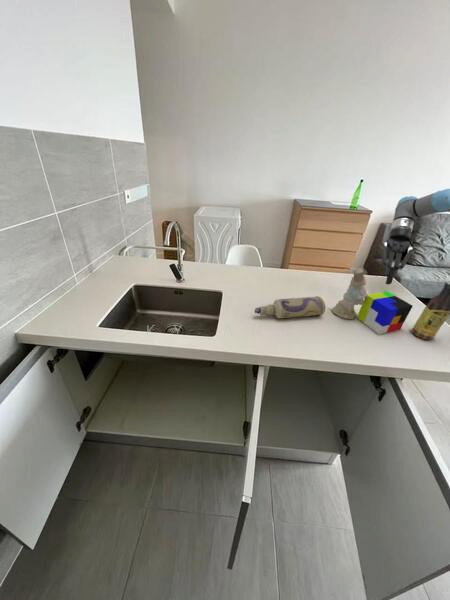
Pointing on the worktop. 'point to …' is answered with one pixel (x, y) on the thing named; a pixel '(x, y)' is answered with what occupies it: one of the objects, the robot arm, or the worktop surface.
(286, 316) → the decorative bottle
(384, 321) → the puzzle toy
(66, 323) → the worktop surface
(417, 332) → the sauce bottle
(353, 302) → the figurine
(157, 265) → the worktop surface
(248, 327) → the worktop surface
